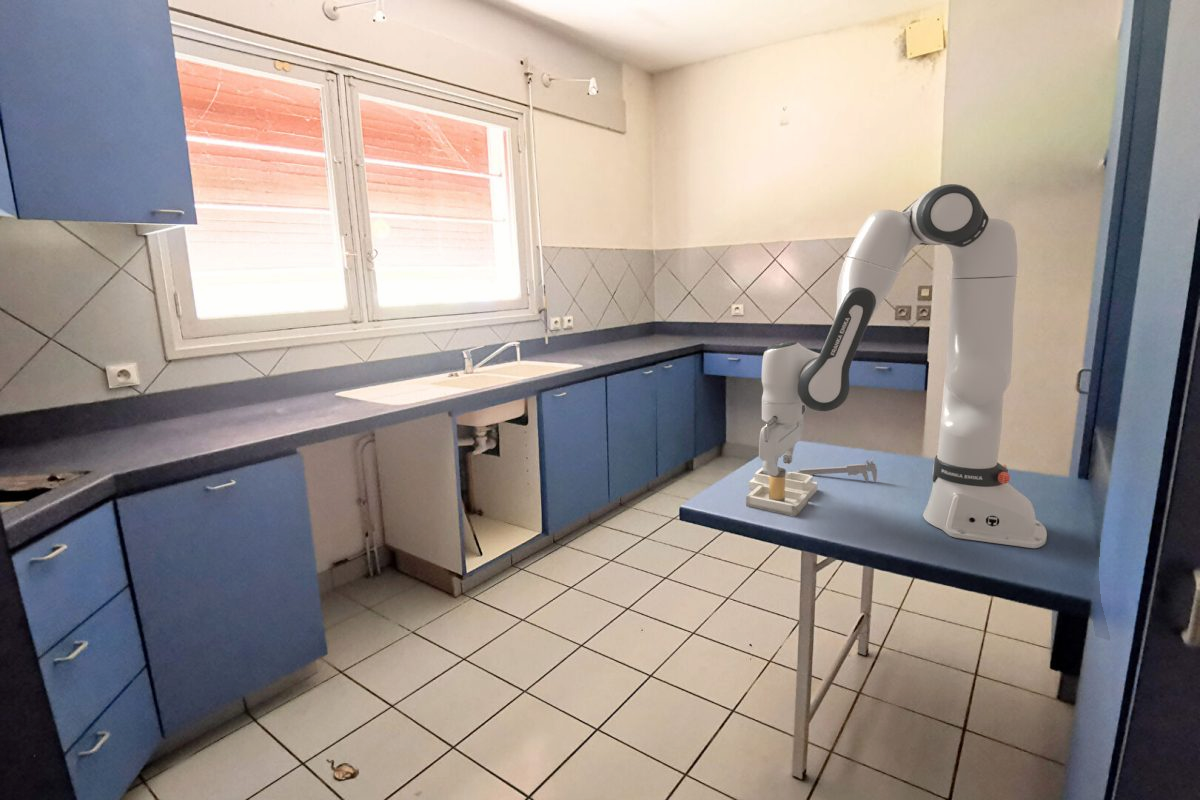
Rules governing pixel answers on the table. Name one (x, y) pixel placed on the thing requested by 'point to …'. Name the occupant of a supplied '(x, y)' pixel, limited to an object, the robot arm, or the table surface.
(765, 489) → the parts tray
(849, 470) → the caliper
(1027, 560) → the table surface
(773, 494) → the fuse
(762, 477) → the block
